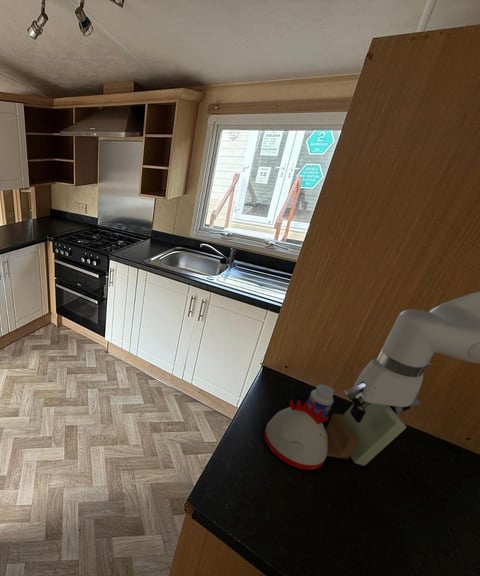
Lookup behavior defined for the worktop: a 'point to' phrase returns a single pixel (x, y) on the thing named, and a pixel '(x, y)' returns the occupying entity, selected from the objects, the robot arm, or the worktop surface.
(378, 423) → the book
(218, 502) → the worktop surface
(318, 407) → the pill bottle
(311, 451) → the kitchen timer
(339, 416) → the bookend
